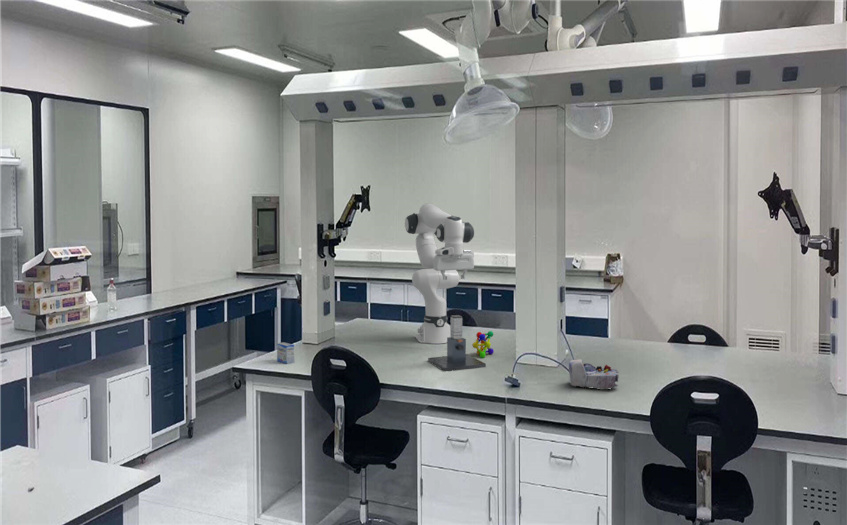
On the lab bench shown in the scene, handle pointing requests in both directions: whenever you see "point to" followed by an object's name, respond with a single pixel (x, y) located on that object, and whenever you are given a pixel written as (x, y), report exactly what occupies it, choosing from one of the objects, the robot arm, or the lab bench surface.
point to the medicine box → (285, 353)
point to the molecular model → (483, 344)
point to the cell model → (592, 375)
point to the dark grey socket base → (456, 357)
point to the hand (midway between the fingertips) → (453, 279)
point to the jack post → (456, 327)
